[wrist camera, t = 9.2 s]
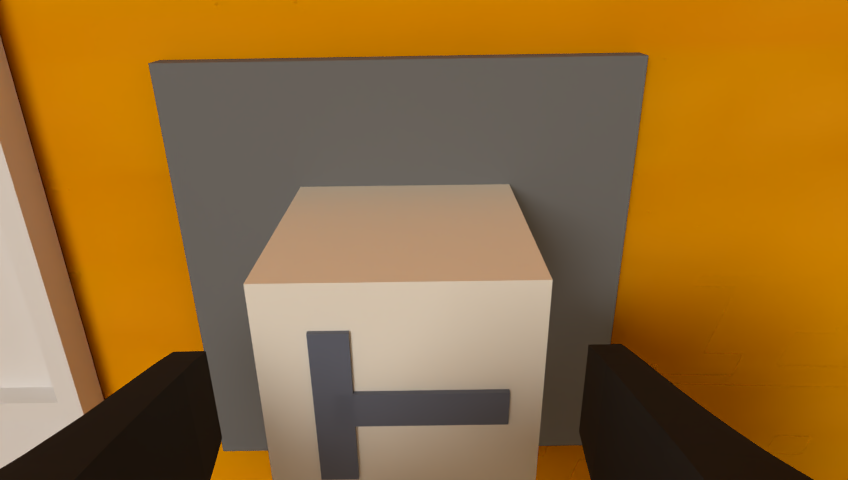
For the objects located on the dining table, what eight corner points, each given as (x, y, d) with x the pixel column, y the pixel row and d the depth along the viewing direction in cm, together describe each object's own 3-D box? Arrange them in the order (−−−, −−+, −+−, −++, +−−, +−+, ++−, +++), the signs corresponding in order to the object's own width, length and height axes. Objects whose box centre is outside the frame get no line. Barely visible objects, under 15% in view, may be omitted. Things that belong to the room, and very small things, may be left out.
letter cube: (500, 358, 16) (534, 511, 11) (317, 361, 16) (276, 515, 11) (509, 184, 14) (553, 283, 9) (300, 186, 14) (241, 286, 9)
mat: (591, 430, 18) (597, 444, 17) (229, 436, 18) (223, 451, 17) (639, 52, 14) (648, 55, 13) (159, 60, 13) (148, 63, 13)
